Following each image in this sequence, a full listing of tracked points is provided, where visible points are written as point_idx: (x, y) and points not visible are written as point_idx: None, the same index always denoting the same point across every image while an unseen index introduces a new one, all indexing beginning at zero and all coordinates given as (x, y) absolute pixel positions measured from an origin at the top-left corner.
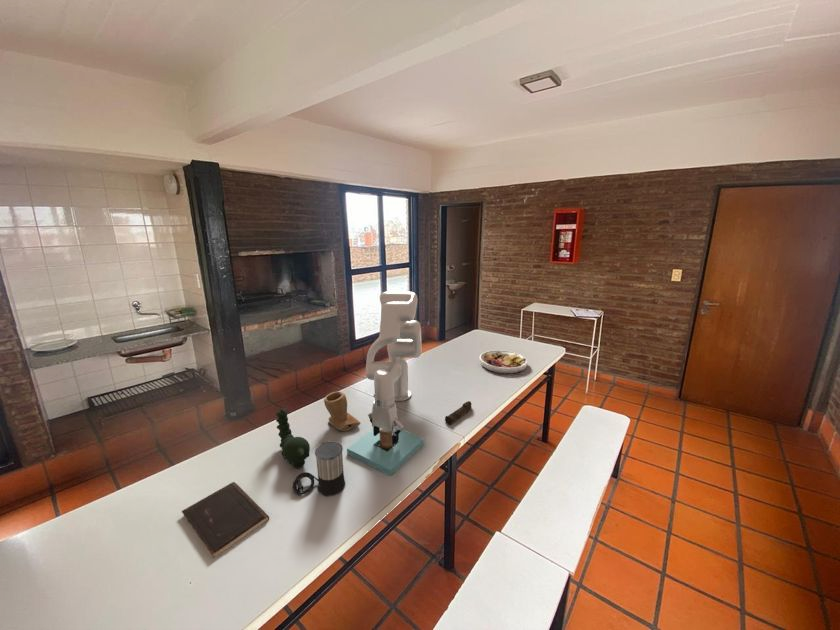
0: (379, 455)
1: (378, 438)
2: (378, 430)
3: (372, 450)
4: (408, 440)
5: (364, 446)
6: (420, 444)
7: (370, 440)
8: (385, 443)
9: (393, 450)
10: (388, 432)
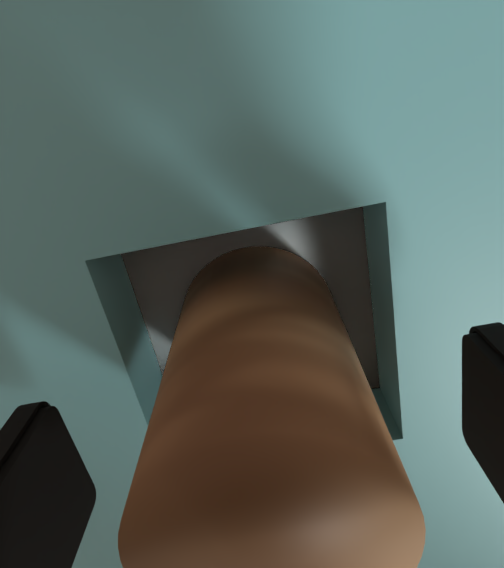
0: (83, 106)
1: (430, 352)
2: (495, 461)
3: (279, 101)
4: (111, 544)
5: (481, 63)
6: None
7: (502, 244)
8: (186, 338)
9: (56, 334)
10: (190, 563)
